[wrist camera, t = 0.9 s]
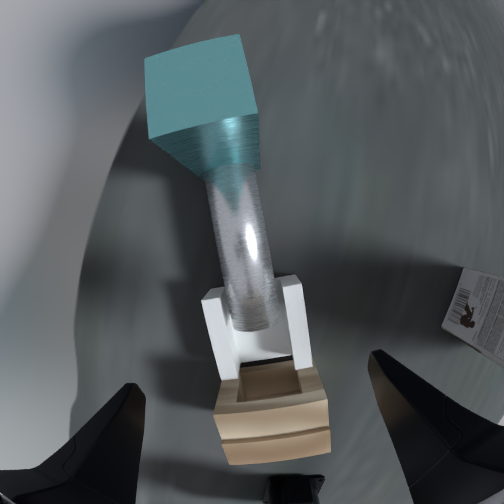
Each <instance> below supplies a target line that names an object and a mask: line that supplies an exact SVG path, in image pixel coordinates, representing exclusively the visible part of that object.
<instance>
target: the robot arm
mask: <svg viewBox="0 0 504 504" xmlns="http://www.w3.org/2000/svg"><path fill="white" fill-rule="evenodd" d="M368 372H369V375H370V379H371V382H372V386H373V389H374V393H375V397H376V400H377V404H378V407H379V409H380V412H381V414H382V417H383V419H384V422H385V424H386V427H387V429H388V432H389V434H390V437H391V440H392V442H393V445H394V448H395V450H396V453H397V456H398V458H399V461H400V464H401V467H402V469H403V472H404V475H405V478H406V481H407V484H408V487H409V490H410V493H411V496H412V499H413V503H414V504H504V426H501V425H497V424H495V423H493V422H491V421H489V420H487V419H485V418H483V417H481V416H479V415H477V414H475V413H473V412H471V411H470V410H468V409H466V408H464V407H463V406H461V405H460V404H458V403H457V402H455V401H454V400H452V399H451V398H449V397H448V396H446V395H445V394H443V393H442V392H441V391H439V390H438V389H436V388H435V387H434V386H432V385H431V384H429V383H428V382H426V381H425V380H424V379H422V378H421V377H419V376H418V375H417V374H415V373H414V372H412V371H411V370H410V369H408V368H407V367H405V366H404V365H402V364H401V363H400V362H398V361H397V360H395V359H394V358H393V357H391V356H390V355H388V354H387V353H386V352H384V351H383V350H381V349H378V350H375V351H372V352H370V355H369V361H368ZM145 404H146V398H145V395H144V393H143V392H142V391H141V389H140V388H139V386H138V385H137V384H136V383H126V384H125V385H124V386H123V387H122V388H121V389H120V390H119V391H118V392H117V393H116V394H115V395H114V396H113V397H112V398H111V399H110V400H109V401H108V402H107V403H106V404H105V405H104V406H103V407H102V408H101V409H100V410H99V411H98V412H97V413H96V414H95V415H94V416H93V417H92V418H91V419H90V420H89V421H88V422H87V423H86V424H85V425H84V426H83V427H82V428H81V429H80V430H79V431H78V432H77V433H76V434H75V435H74V436H73V437H72V438H71V439H70V440H69V441H68V442H67V443H66V444H65V445H63V446H62V447H61V448H60V449H59V450H58V451H56V452H55V453H54V454H53V455H52V456H50V457H49V458H48V459H47V460H45V461H44V462H43V463H42V464H40V465H39V466H37V467H35V468H32V469H22V470H0V493H2V494H3V495H1V494H0V504H135V502H136V491H137V481H138V472H139V464H140V456H141V449H142V442H143V435H144V424H145ZM324 481H325V477H324V476H305V477H270V478H268V481H267V485H266V489H265V493H264V497H263V503H264V504H319V499H318V493H319V491H320V489H321V487H322V485H323V483H324Z"/></svg>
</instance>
